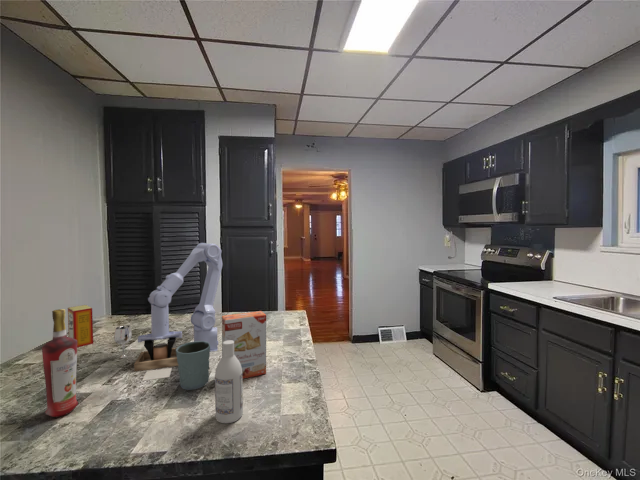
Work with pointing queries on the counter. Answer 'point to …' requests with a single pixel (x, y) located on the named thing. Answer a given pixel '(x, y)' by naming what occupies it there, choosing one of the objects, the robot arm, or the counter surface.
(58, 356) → the liquor
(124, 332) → the wineglass
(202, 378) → the green cup
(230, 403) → the bath foam
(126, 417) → the counter surface
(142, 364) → the brown wooden shallow tray
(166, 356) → the pot
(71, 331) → the baking soda box
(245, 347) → the cracker box
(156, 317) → the robot arm
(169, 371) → the tile
